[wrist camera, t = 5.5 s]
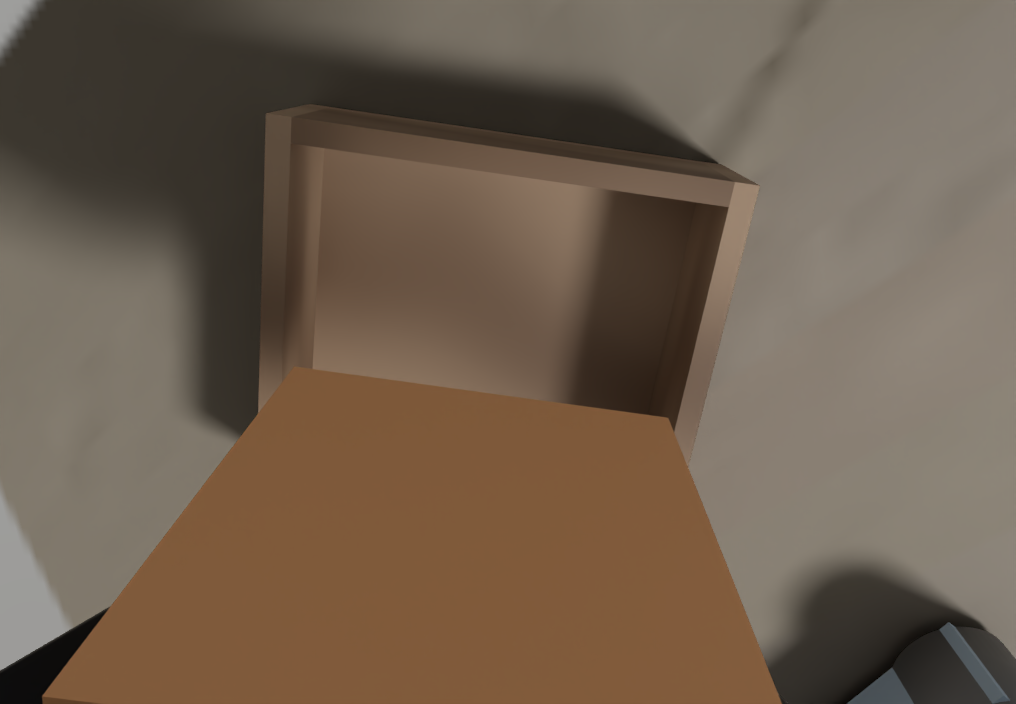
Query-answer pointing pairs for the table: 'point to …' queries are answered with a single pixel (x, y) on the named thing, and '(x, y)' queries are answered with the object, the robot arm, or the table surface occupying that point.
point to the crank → (947, 671)
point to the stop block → (431, 564)
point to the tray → (496, 262)
